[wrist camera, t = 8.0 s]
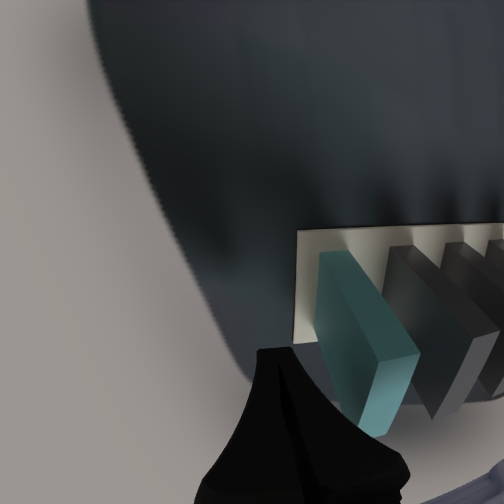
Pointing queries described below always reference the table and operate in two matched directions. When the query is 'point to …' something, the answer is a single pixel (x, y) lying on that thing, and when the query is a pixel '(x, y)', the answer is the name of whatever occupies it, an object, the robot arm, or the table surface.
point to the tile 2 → (438, 329)
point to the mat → (373, 256)
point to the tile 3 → (480, 301)
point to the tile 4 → (496, 253)
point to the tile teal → (361, 343)
